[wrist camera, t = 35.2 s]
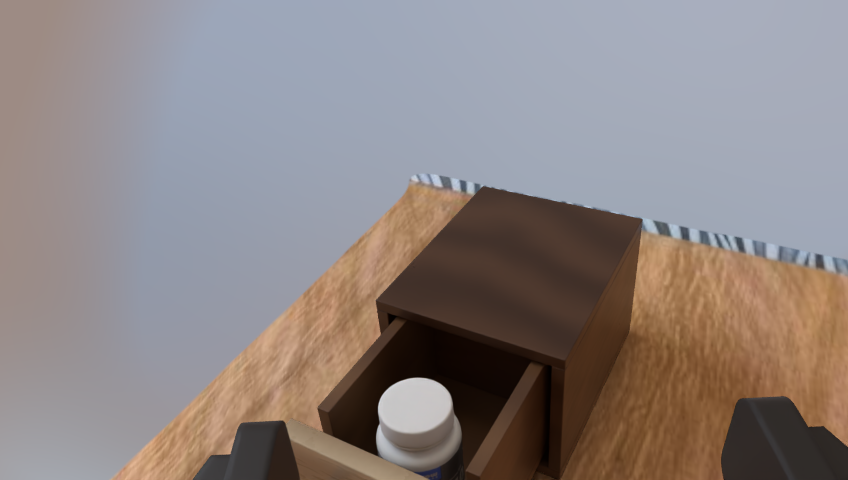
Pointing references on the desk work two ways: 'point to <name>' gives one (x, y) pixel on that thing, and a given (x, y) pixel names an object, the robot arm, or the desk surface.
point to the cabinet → (530, 294)
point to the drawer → (472, 403)
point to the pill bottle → (420, 430)
